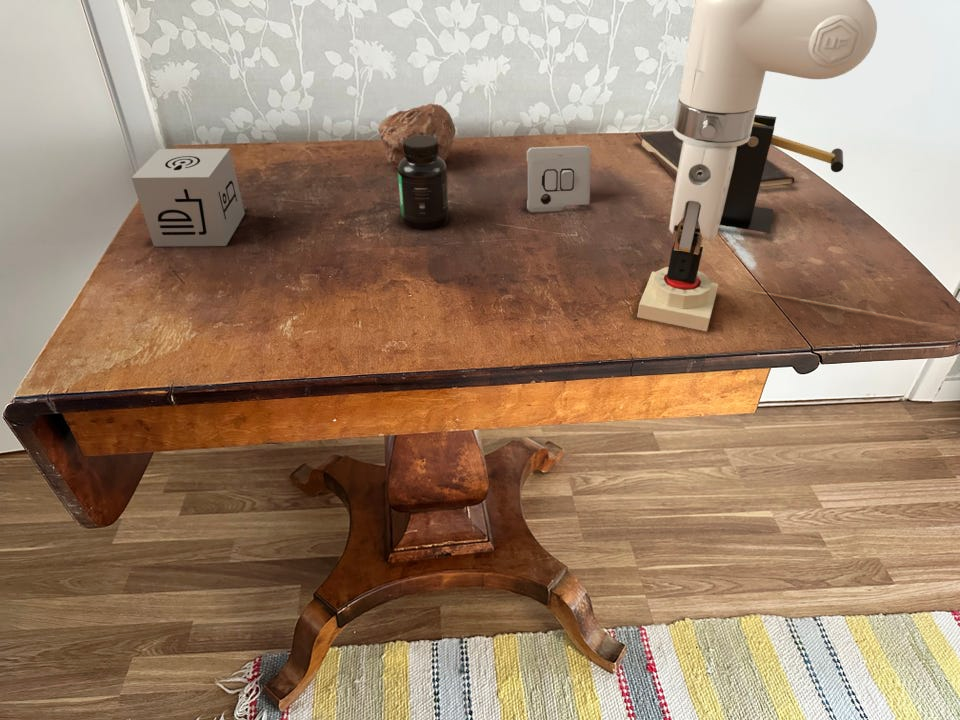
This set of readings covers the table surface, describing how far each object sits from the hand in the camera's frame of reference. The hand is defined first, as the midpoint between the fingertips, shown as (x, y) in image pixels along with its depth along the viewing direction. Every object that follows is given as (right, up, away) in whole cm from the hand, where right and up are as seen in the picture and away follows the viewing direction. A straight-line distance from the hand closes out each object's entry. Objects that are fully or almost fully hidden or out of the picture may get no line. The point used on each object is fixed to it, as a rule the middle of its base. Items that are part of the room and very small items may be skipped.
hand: (681, 277), depth 82 cm
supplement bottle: (-31, +11, +21) cm, 39 cm away
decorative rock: (-34, +24, +38) cm, 56 cm away
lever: (+18, +18, +12) cm, 28 cm away
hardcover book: (+15, +23, +37) cm, 46 cm away
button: (0, -1, +1) cm, 2 cm away
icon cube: (-64, +9, +20) cm, 67 cm away
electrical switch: (-12, +14, +25) cm, 31 cm away
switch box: (0, -3, +3) cm, 4 cm away
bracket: (+14, +10, +21) cm, 27 cm away
